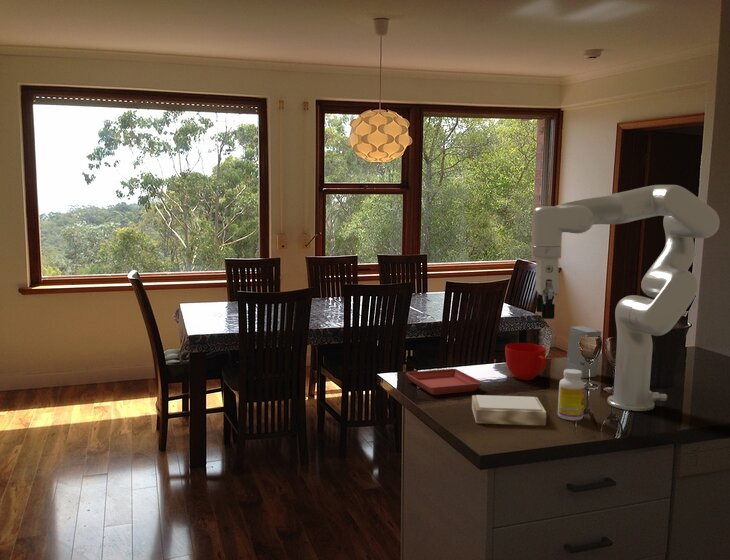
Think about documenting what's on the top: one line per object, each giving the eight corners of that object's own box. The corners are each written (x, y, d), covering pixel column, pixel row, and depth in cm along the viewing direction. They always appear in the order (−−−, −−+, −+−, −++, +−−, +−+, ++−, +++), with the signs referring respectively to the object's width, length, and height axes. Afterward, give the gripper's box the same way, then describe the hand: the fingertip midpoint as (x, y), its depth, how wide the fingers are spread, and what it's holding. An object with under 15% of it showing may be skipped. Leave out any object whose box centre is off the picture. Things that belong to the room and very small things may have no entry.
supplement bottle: (584, 422, 182) (587, 375, 180) (558, 420, 183) (560, 373, 182) (581, 414, 188) (584, 368, 187) (556, 412, 190) (559, 367, 188)
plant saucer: (454, 377, 225) (455, 367, 225) (483, 392, 209) (484, 382, 208) (404, 382, 219) (404, 372, 218) (430, 398, 202) (430, 387, 202)
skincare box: (564, 372, 231) (567, 326, 229) (580, 370, 235) (582, 325, 233) (583, 379, 224) (586, 331, 222) (599, 376, 227) (602, 329, 225)
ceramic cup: (527, 387, 213) (529, 356, 212) (496, 373, 229) (497, 344, 227) (560, 383, 219) (562, 352, 217) (528, 370, 234) (529, 341, 233)
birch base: (536, 409, 192) (537, 395, 191) (545, 425, 179) (546, 410, 178) (471, 407, 193) (472, 393, 192) (476, 423, 180) (476, 408, 179)
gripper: (566, 255, 175) (565, 321, 178) (555, 249, 192) (553, 309, 195) (537, 255, 176) (535, 321, 178) (528, 249, 193) (526, 309, 196)
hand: (545, 315), depth 187 cm, fingers open, 9 cm apart
